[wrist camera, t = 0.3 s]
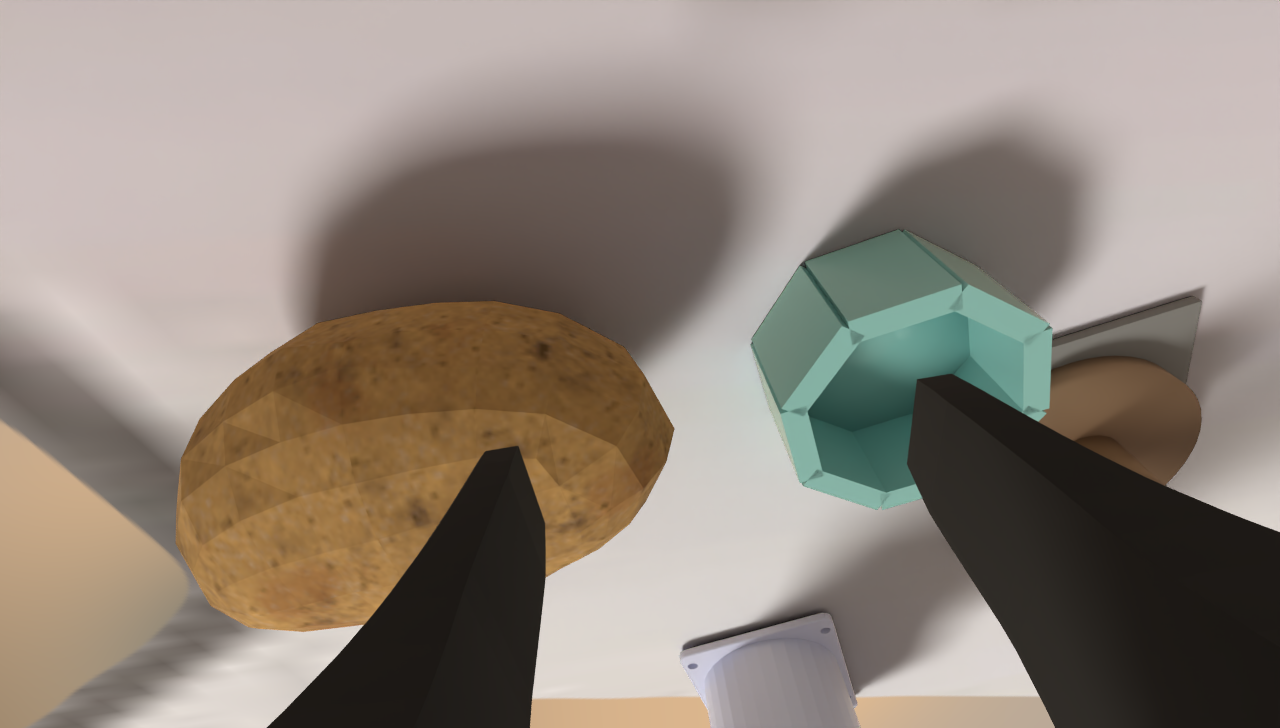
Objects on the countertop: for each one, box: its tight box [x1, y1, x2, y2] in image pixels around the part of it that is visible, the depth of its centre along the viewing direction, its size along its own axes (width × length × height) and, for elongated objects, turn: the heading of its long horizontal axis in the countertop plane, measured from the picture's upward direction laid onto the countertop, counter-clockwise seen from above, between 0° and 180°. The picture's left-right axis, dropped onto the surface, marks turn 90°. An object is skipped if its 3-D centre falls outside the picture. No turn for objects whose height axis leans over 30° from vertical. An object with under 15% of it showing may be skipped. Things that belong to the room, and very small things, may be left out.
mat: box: [1051, 296, 1202, 486], centre depth 26 cm, size 11×9×1 cm
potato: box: [176, 301, 674, 632], centre depth 19 cm, size 10×14×8 cm
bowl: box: [751, 229, 1052, 510], centre depth 21 cm, size 8×8×4 cm
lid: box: [1039, 356, 1202, 486], centre depth 23 cm, size 9×9×6 cm
